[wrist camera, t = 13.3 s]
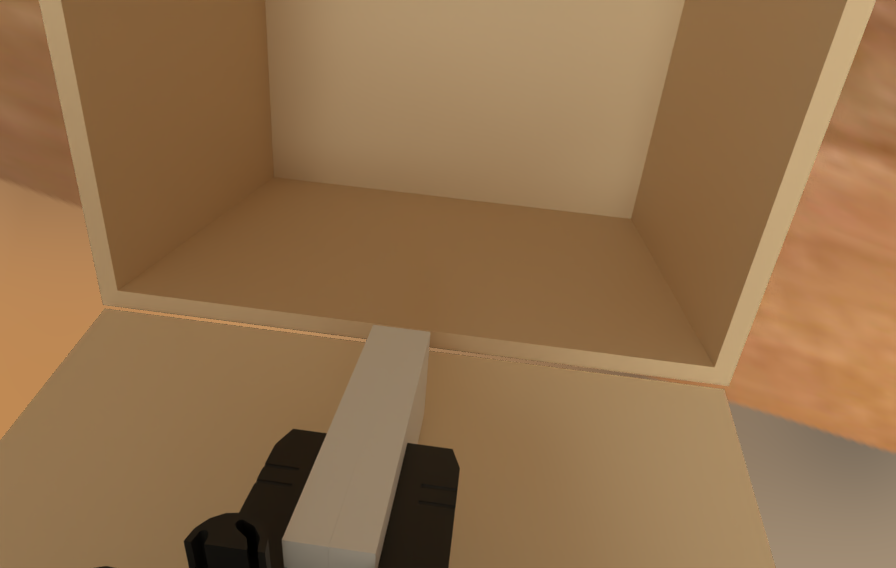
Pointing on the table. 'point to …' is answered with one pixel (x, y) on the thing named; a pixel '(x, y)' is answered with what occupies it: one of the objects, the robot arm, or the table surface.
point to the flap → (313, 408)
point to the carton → (454, 165)
